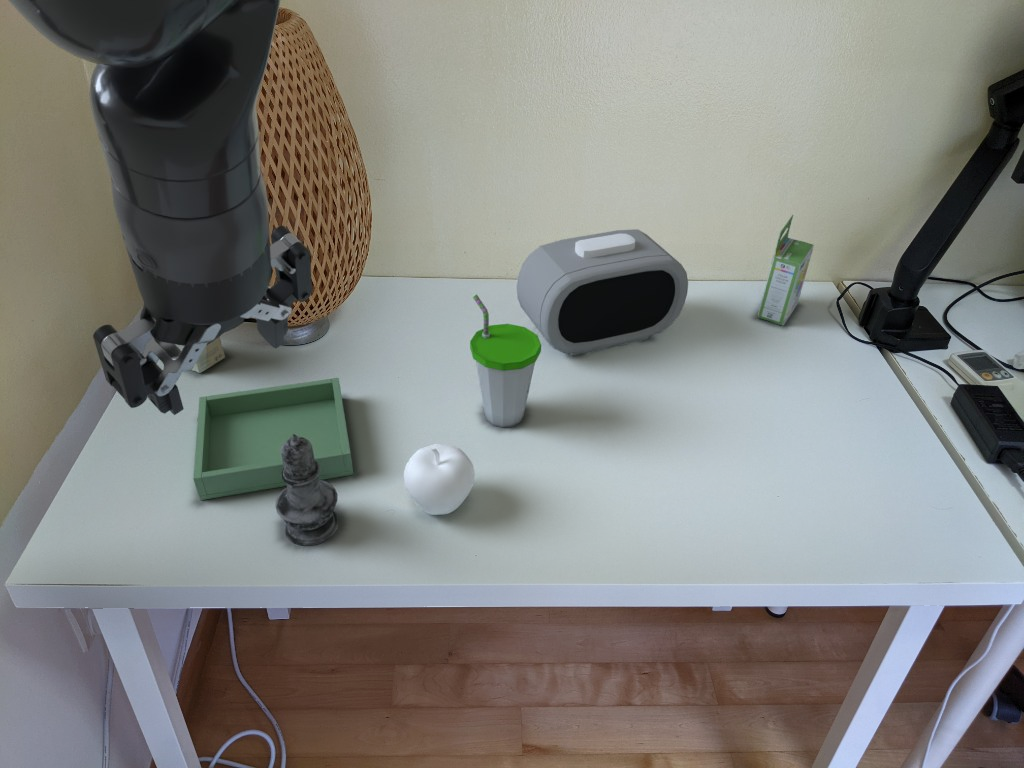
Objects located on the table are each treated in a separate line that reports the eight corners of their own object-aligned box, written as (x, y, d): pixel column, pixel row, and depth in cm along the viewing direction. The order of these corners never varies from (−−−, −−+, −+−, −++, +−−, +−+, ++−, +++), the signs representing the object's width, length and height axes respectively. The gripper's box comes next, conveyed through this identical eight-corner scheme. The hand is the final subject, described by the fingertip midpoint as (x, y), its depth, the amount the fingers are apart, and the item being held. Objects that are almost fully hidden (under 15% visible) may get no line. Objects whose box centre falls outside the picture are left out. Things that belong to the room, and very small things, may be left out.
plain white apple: (391, 503, 80) (385, 445, 75) (441, 468, 84) (438, 411, 79) (439, 539, 76) (436, 480, 71) (488, 500, 80) (488, 442, 75)
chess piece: (353, 516, 78) (340, 425, 71) (316, 556, 74) (297, 464, 67) (307, 496, 80) (289, 406, 73) (268, 534, 76) (245, 443, 69)
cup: (548, 426, 90) (555, 317, 81) (486, 444, 87) (486, 333, 78) (520, 388, 95) (524, 282, 86) (461, 403, 93) (458, 295, 84)
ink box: (784, 327, 108) (808, 240, 100) (756, 318, 109) (777, 232, 101) (797, 305, 112) (822, 220, 104) (771, 297, 114) (792, 213, 106)
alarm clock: (543, 367, 99) (548, 275, 91) (515, 328, 106) (517, 239, 98) (681, 336, 105) (698, 247, 97) (646, 301, 112) (659, 216, 104)
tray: (200, 500, 79) (193, 478, 77) (205, 417, 90) (199, 396, 88) (353, 474, 83) (350, 453, 81) (341, 398, 93) (338, 377, 91)
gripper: (260, 130, 46) (269, 287, 60) (29, 240, 39) (99, 390, 53) (343, 210, 45) (333, 352, 59) (119, 339, 38) (167, 466, 52)
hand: (222, 370), depth 56 cm, fingers open, 8 cm apart
